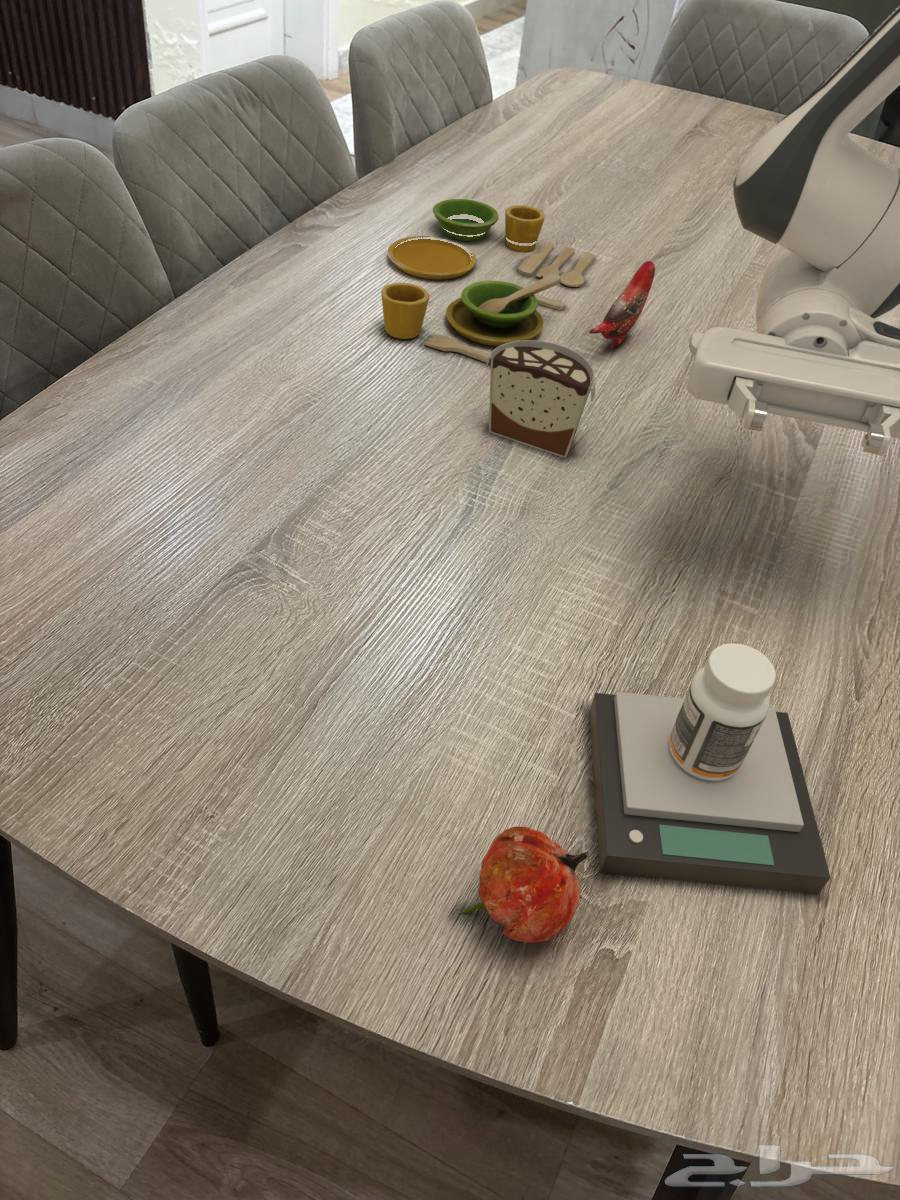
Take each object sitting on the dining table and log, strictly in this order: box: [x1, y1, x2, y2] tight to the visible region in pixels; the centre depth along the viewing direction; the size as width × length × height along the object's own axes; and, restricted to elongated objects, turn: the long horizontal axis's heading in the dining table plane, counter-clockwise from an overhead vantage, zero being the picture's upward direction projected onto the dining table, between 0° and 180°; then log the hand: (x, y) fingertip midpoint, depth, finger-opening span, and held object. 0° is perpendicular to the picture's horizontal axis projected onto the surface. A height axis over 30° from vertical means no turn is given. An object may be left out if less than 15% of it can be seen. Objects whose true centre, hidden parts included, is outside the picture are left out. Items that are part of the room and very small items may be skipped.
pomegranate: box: [459, 826, 591, 944], centre depth 63 cm, size 7×7×10 cm
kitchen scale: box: [588, 691, 831, 895], centre depth 72 cm, size 16×15×4 cm
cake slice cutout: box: [484, 339, 596, 459], centre depth 104 cm, size 12×6×10 cm, turn 65°
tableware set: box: [380, 198, 595, 363], centre depth 130 cm, size 41×28×6 cm
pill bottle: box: [669, 642, 777, 781], centre depth 68 cm, size 6×6×10 cm
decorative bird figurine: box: [588, 260, 656, 351], centre depth 119 cm, size 3×18×10 cm, turn 147°
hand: (815, 434), depth 73 cm, fingers open, 8 cm apart
